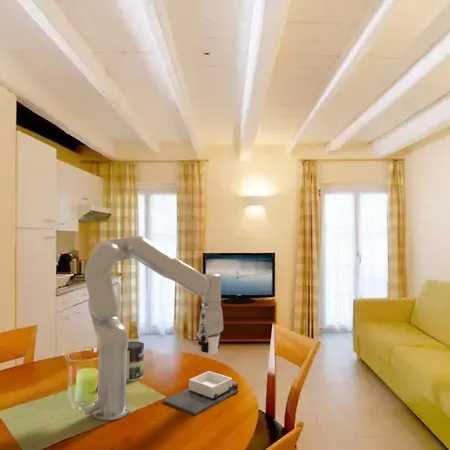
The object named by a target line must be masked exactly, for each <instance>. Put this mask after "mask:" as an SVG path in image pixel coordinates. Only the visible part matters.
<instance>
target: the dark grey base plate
mask: <svg viewBox="0 0 450 450" xmlns="http://www.w3.org/2000/svg"><path fill="white" fill-rule="evenodd" d="M239 389H240V388H239V382H236V381H233V380H232V390H231V391H230V390H228V391H226V392H224V393H222V394H220V395H218V397H217V398H215V397H214V398H210V397H208V396H205V395H202V394H199V393H197V392H194V391H191V390H189V387H188V388H186V389H183V390H182V391H178V392H177V393H175V394H173V395H170V396H169V397H165V398H163V399H162V402H163V404H166V405H168V406H171V407H173V408H176V409H178V410H180V411H183V412H185V413H187V414H189V415H192V416H197V415H199V414H201V413H202V412H205V411H206V410H207V409H210V408H212V407H213V406H215V405H216V404H219V403H220V401H221V402H222V400H223V401H224V400H227V399H228V398H230V397H232V396H233V395H232V394H234V393H235V394H237V393H238V392H239ZM237 391H238V392H237ZM236 392H237V393H236ZM235 394H234V395H235ZM231 395H232V396H231ZM229 396H230V397H229ZM227 397H228V398H227ZM218 402H219V403H218ZM200 412H201V413H200ZM198 413H199V414H198ZM196 414H197V415H196Z"/></svg>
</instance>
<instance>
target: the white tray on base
mask: <svg viewBox="0 0 450 450" xmlns="http://www.w3.org/2000/svg"><path fill="white" fill-rule="evenodd" d="M232 381H233V378H232V377H230V376H227V375H224V374H220V373H218V372H217V373H216V372H214V371H210V370H208V371H205V372H204V373H201V374H199V375H197V376H194V377H192V378H191V377H190V378H189V380H188V388H189V390H191V391H194V392H197V393H199V394H202V395H205V396H208V397H210V398H214V397H215V398H217V397H218V395H220V394H222V393H224V392H226V391H228V390H230V391H231V390H232Z"/></svg>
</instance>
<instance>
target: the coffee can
mask: <svg viewBox="0 0 450 450" xmlns="http://www.w3.org/2000/svg"><path fill="white" fill-rule="evenodd" d="M144 347H145V343H144V342H141V341H128V348H127V362H126V382H135V381H139V380H141V379H143V377H144V358H145V357H144V356H145V355H144V354H145V352H144V351H145V350H144Z"/></svg>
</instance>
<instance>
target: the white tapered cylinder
mask: <svg viewBox="0 0 450 450" xmlns="http://www.w3.org/2000/svg"><path fill="white" fill-rule="evenodd" d="M205 337H206V336H205V335H204V338H205ZM207 342H208V353H205V352H202V353H203V354H205V355H217V354H218V350H219V349H218V342H219V343H220V339H219V334H214V335H211V336H209V337H208V341H207Z"/></svg>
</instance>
